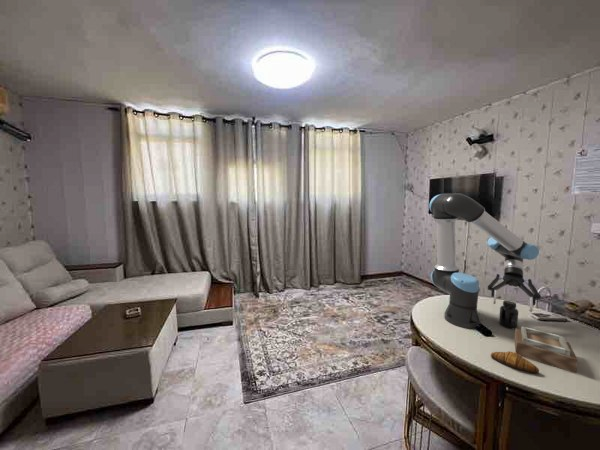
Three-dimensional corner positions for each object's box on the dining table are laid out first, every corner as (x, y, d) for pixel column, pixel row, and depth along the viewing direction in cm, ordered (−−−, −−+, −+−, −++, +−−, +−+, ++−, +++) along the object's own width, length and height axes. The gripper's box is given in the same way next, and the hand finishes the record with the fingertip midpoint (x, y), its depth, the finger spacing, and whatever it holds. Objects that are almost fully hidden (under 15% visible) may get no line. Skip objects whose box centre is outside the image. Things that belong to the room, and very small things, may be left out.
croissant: (538, 369, 88) (539, 356, 87) (539, 379, 83) (541, 365, 82) (491, 353, 97) (492, 341, 96) (489, 361, 91) (490, 349, 91)
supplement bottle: (515, 324, 119) (517, 301, 117) (518, 331, 113) (521, 306, 112) (497, 321, 122) (499, 298, 121) (499, 326, 117) (502, 303, 115)
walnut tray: (515, 354, 96) (517, 337, 95) (514, 338, 106) (515, 323, 106) (575, 372, 86) (578, 354, 85) (567, 353, 96) (569, 337, 96)
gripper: (545, 278, 123) (546, 317, 113) (484, 269, 139) (480, 302, 129) (548, 270, 119) (549, 310, 109) (484, 262, 134) (480, 296, 124)
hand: (512, 306), depth 119 cm, fingers open, 13 cm apart
